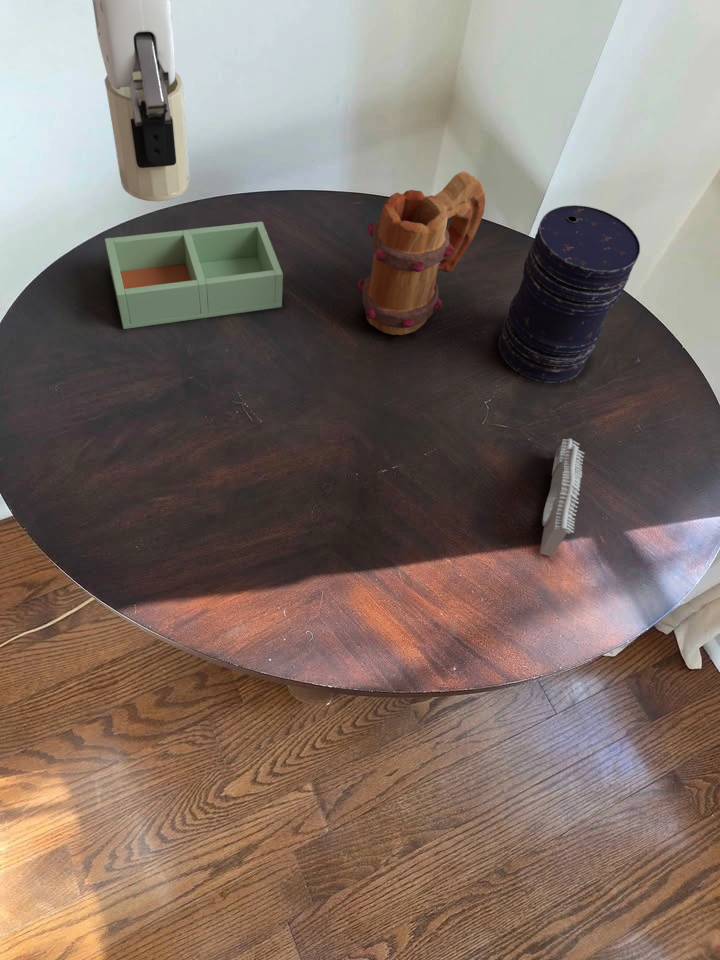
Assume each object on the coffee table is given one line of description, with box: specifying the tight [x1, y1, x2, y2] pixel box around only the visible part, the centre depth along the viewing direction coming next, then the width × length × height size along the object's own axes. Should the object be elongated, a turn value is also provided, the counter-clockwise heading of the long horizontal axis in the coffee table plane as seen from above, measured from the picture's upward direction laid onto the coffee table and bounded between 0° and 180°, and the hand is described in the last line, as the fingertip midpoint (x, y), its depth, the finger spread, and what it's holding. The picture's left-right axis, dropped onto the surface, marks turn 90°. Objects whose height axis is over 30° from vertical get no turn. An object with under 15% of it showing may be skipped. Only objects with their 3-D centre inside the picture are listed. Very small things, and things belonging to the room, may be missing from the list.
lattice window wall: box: [539, 437, 586, 558], centre depth 71 cm, size 12×2×6 cm, turn 164°
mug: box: [357, 171, 486, 336], centre depth 80 cm, size 15×8×15 cm, turn 131°
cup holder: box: [104, 221, 284, 330], centre depth 83 cm, size 17×9×5 cm, turn 108°
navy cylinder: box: [498, 204, 641, 384], centre depth 79 cm, size 10×10×15 cm
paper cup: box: [104, 71, 191, 202], centre depth 66 cm, size 6×6×9 cm
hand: (149, 139), depth 66 cm, fingers closed on paper cup, 6 cm apart
